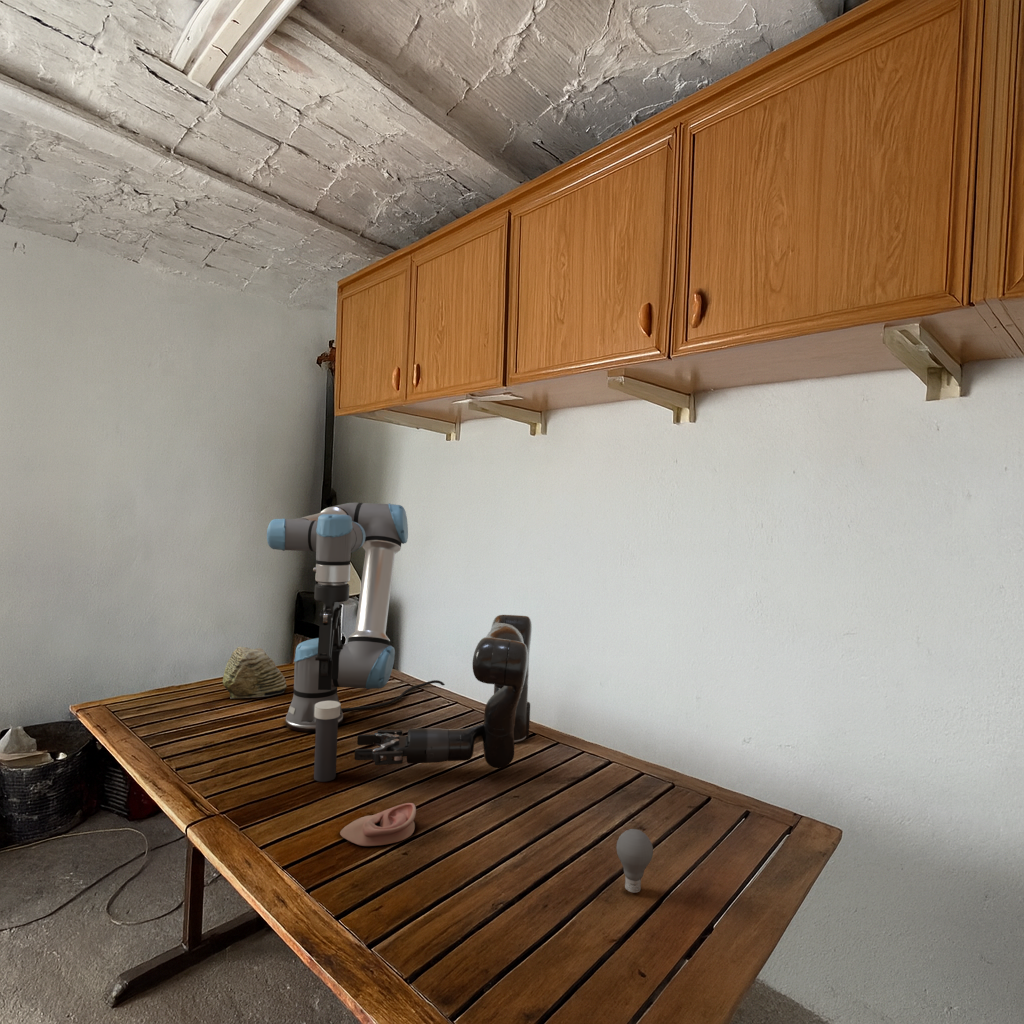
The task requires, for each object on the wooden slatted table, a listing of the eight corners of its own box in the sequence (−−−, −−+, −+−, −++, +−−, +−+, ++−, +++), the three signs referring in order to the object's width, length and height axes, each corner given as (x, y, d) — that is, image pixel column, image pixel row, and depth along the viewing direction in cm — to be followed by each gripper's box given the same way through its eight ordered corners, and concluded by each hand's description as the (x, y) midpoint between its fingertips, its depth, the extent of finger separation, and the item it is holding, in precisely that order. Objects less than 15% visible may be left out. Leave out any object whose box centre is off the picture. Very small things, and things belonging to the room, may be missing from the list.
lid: (330, 709, 147) (330, 699, 147) (345, 715, 143) (345, 704, 143) (309, 715, 142) (309, 704, 142) (324, 721, 139) (324, 710, 139)
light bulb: (610, 879, 108) (613, 822, 108) (644, 879, 109) (647, 822, 109) (619, 902, 102) (622, 840, 102) (655, 901, 103) (658, 840, 103)
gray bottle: (327, 770, 146) (330, 701, 146) (340, 777, 143) (342, 706, 143) (309, 777, 143) (312, 706, 142) (322, 783, 140) (324, 711, 139)
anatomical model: (332, 820, 116) (360, 792, 128) (332, 841, 116) (359, 811, 128) (400, 830, 114) (422, 801, 125) (400, 852, 114) (421, 821, 125)
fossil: (218, 695, 195) (220, 647, 195) (278, 685, 208) (279, 640, 207) (228, 703, 189) (230, 653, 188) (289, 692, 201) (290, 645, 201)
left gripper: (324, 576, 152) (321, 671, 153) (304, 588, 132) (300, 697, 132) (356, 577, 153) (352, 671, 153) (341, 590, 132) (337, 698, 133)
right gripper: (427, 718, 154) (358, 719, 151) (430, 741, 140) (354, 742, 137) (426, 749, 154) (357, 751, 151) (428, 774, 140) (353, 777, 137)
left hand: (328, 683), depth 143 cm, fingers open, 8 cm apart
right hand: (356, 747), depth 144 cm, fingers open, 8 cm apart
